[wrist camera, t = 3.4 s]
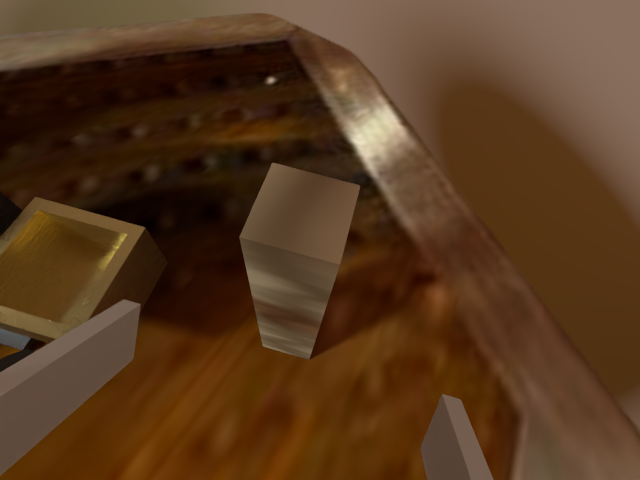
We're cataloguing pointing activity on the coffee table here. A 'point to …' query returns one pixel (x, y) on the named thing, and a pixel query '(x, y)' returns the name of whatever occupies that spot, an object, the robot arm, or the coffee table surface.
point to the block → (295, 253)
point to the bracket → (67, 269)
